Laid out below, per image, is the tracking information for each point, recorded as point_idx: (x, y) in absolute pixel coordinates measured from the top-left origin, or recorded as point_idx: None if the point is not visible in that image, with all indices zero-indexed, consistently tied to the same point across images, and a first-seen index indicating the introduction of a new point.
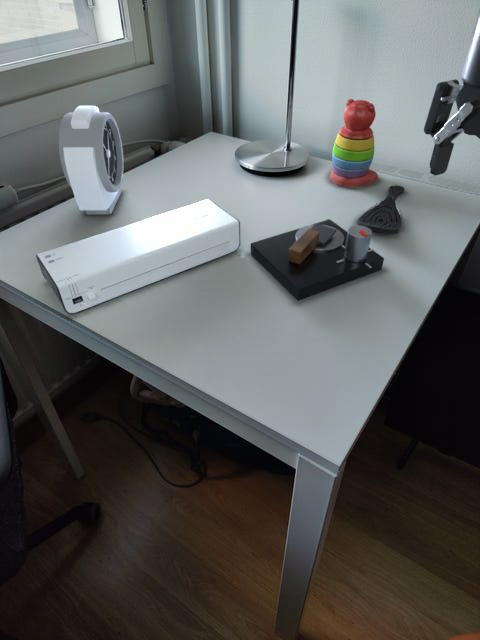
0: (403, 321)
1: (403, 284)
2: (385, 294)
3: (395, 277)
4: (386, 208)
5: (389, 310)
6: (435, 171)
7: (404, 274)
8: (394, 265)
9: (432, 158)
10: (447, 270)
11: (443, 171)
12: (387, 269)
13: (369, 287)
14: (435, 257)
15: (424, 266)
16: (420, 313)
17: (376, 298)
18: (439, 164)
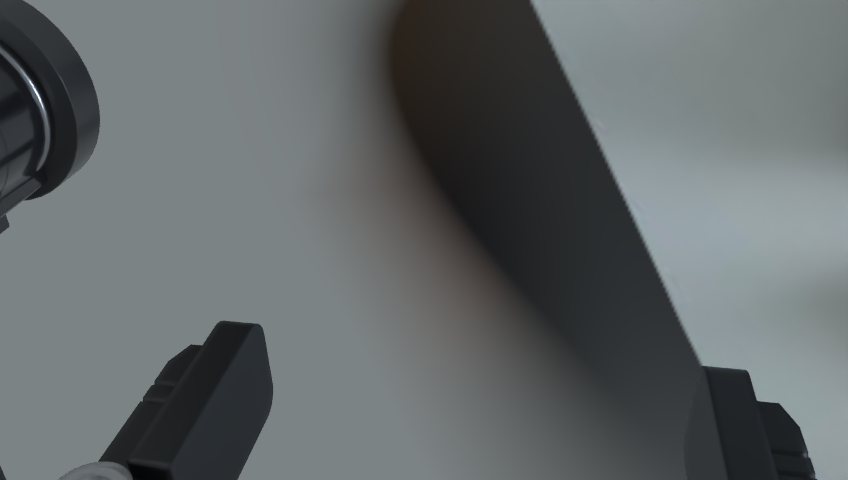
0: (585, 3)
1: (732, 155)
2: (737, 58)
3: (782, 162)
4: None
5: (660, 3)
6: (705, 385)
7: (770, 200)
8: (835, 211)
9: (794, 459)
10: (683, 321)
11: (687, 436)
12: (839, 173)
13: (813, 35)
14: (759, 346)
15: (751, 285)
16: (581, 86)
17: (744, 10)
18: (709, 440)
